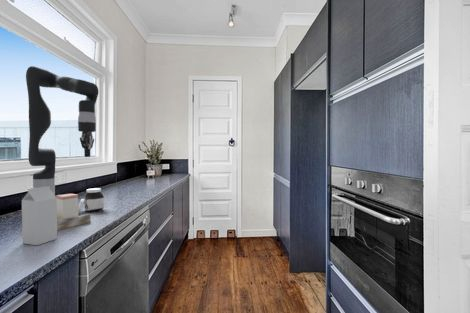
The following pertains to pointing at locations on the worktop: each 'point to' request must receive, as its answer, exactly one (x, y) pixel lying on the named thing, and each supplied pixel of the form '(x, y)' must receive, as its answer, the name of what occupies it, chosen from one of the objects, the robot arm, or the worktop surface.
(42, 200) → the milk carton
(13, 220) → the worktop surface
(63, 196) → the pink-topped white box
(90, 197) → the spread jar
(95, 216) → the worktop surface
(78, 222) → the track
